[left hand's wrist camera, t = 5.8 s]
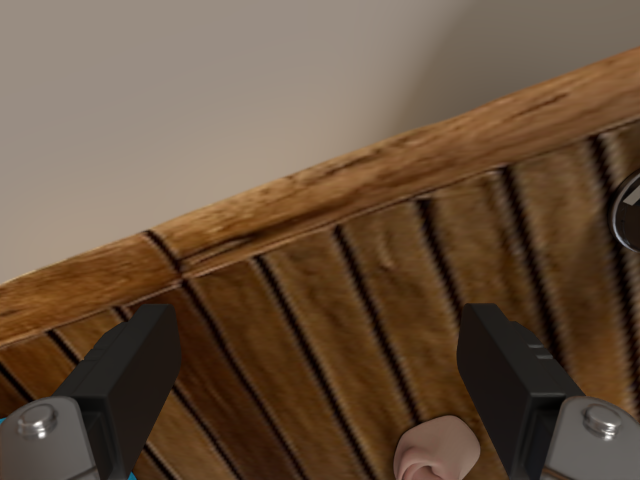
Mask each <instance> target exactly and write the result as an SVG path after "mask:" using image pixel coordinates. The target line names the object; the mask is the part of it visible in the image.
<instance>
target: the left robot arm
mask: <svg viewBox="0 0 640 480" xmlns="http://www.w3.org/2000/svg"><path fill="white" fill-rule="evenodd" d="M608 225H609V229H610V231H611V233H612V235H613V237H614V238H615V239H616V240H617V241H618V242H619V243H620V244H621V245H623V246H625V247H627V248H628V249H630V250H632V251H635V252H638V253H640V169H638V170H637V171H635V172H634V173H633V174H631V175H630V176H629V177H628V178H627V179H626V180H625V181H624V182H623V183H622V184H621V185H620V187H619V188H618V189H617V191H616V193H615V194H614V196H613V198H612V201H611V203H610V207H609V211H608ZM457 365H458V370H459V373H460V375H461V377H462V380H463V382H464V384H465V386H466V388H467V390H468V392H469V394H470V396H471V399H472V401H473V403H474V405H475V407H476V409H477V411H478V413H479V415H480V417H481V420H482V422H483V424H484V426H485V428H486V430H487V432H488V434H489V436H490V438H491V441H492V443H493V445H494V447H495V449H496V451H497V453H498V455H499V457H500V459H501V462H502V464H503V466H504V468H505V470H506V472H507V474H508V476H509V478H510V480H640V424H639V423H638V422H637V421H636V420H635V419H634V418H633V417H632V416H631V415H630V414H628V413H627V412H626V411H624V410H623V409H621V408H619V407H618V406H616V405H614V404H612V403H609V402H607V401H604V400H601V399H598V398H594V397H589V396H586V395H585V394H584V393H583V392H582V390H581V389H580V388H579V387H578V386H577V384H576V383H575V382H574V381H573V380H572V379H571V377H570V376H569V375H568V374H567V373H566V371H565V370H564V369H563V368H562V367H561V365H560V364H559V363H558V362H557V361H556V360H555V359H553V356H552V355H551V354H550V352H549V351H548V350H547V349H546V348H544V345H543V344H542V343H541V342H540V341H539V339H538V338H537V337H536V336H535V335H534V333H533V332H531V331H530V330H528V329H527V328H525V327H523V326H522V325H520V324H519V323H517V322H516V321H509V320H508V319H507V318H506V316H505V315H504V314H503V313H502V311H501V310H500V309H499V308H498V306H497V305H496V304H494V303H467V304H465V306H464V308H463V312H462V318H461V325H460V332H459V339H458V346H457ZM180 366H181V347H180V340H179V333H178V327H177V320H176V313H175V309H174V307H173V305H172V304H143V305H141V306H140V308H139V309H138V310H137V311H136V313H135V314H134V315H133V317H132V318H131V319H130V320H129V322H121V323H120V324H118V325H117V326H115V327H114V328H112V329H111V330H109V331H108V332H106V333H105V334H104V335H103V336H102V337H101V338H100V339H99V341H98V342H97V343H96V344H95V345H94V348H93V349H91V350H90V351H89V352H88V354H87V355H86V356H85V357H84V360H82V361H81V362H80V363H79V364H78V365H77V366H76V368H75V369H74V370H73V371H72V372H71V374H70V375H69V376H68V377H67V378H66V379H65V381H64V382H63V383H62V384H61V385H60V386H59V388H58V389H57V390H56V391H55V392H54V394H53V395H52V396H51V397H46V398H42V399H39V400H36V401H33V402H31V403H28V404H26V405H24V406H22V407H21V408H19V409H17V410H16V411H14V412H13V413H12V414H10V415H9V416H8V417H7V418H6V419H5V420H4V421H3V422H2V423H1V424H0V480H128V478H129V476H130V474H131V472H132V469H133V467H134V465H135V463H136V461H137V459H138V457H139V455H140V453H141V451H142V449H143V447H144V445H145V442H146V440H147V438H148V436H149V434H150V432H151V430H152V428H153V426H154V424H155V422H156V420H157V417H158V415H159V413H160V411H161V409H162V407H163V405H164V403H165V401H166V399H167V397H168V395H169V393H170V390H171V388H172V386H173V384H174V382H175V380H176V378H177V376H178V374H179V370H180Z"/></svg>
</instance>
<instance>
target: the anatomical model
mask: <svg viewBox="0 0 640 480" xmlns="http://www.w3.org/2000/svg"><path fill="white" fill-rule="evenodd" d="M479 455H480V445H479V442H478V440H477V438H476V436H475V434H474V433H473V432H472V430H471V429H470V428H469V427H468V426H467V425H466V424H465V423H464V422H463V421H462V420H461V419H459V418H457V417H455V416H442V417H438V418H435V419H432V420H430V421H427V422H424V423H422V424H419V425H417V426H416V427H414V428H412V429H410V430H408V431H407V432H405V433H404V434H403V436H402V437H401V439H400V441H399V443H398V446H397V449H396V453H395V457H394V474H395V477H396V480H462V479H463V478H464V477H465V475H466V474H467V473H468V472H469V471H470V470H471V468H472V467H473V466H474V464H475V463H476V462H477V460H478V458H479Z"/></svg>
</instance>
